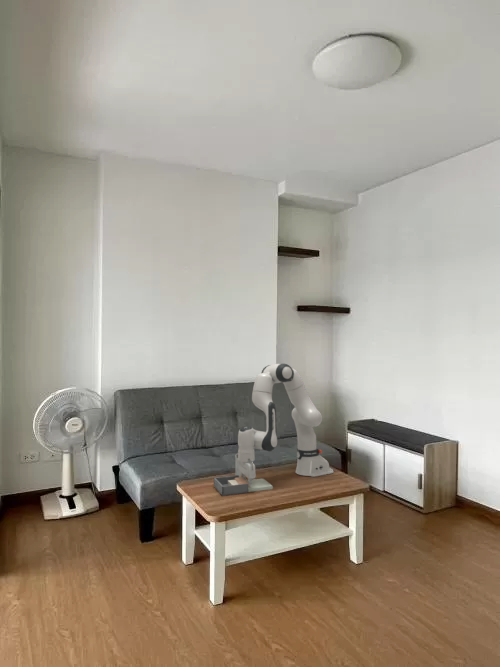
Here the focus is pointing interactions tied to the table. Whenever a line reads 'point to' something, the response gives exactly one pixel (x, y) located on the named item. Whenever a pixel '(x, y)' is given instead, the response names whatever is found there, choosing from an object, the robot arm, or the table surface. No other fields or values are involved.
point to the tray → (225, 490)
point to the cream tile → (232, 482)
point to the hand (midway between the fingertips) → (246, 483)
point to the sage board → (259, 485)
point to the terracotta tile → (241, 481)
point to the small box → (237, 468)
